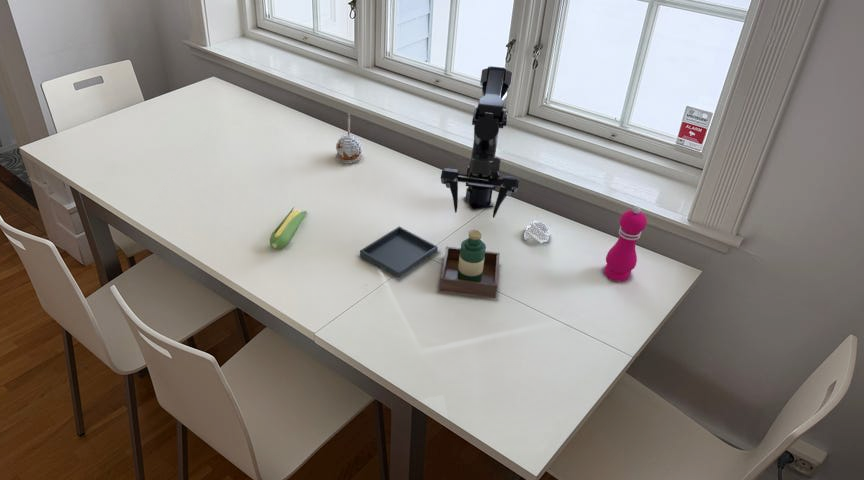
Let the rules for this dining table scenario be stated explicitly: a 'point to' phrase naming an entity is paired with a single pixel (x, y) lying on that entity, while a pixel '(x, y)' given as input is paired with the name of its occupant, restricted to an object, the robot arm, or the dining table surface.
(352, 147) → the decorative ornament
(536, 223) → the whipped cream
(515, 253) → the dining table surface
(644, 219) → the pepper mill
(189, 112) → the dining table surface
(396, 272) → the tray
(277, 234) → the edible corn
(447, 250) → the crate
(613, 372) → the dining table surface
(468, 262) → the bottle
